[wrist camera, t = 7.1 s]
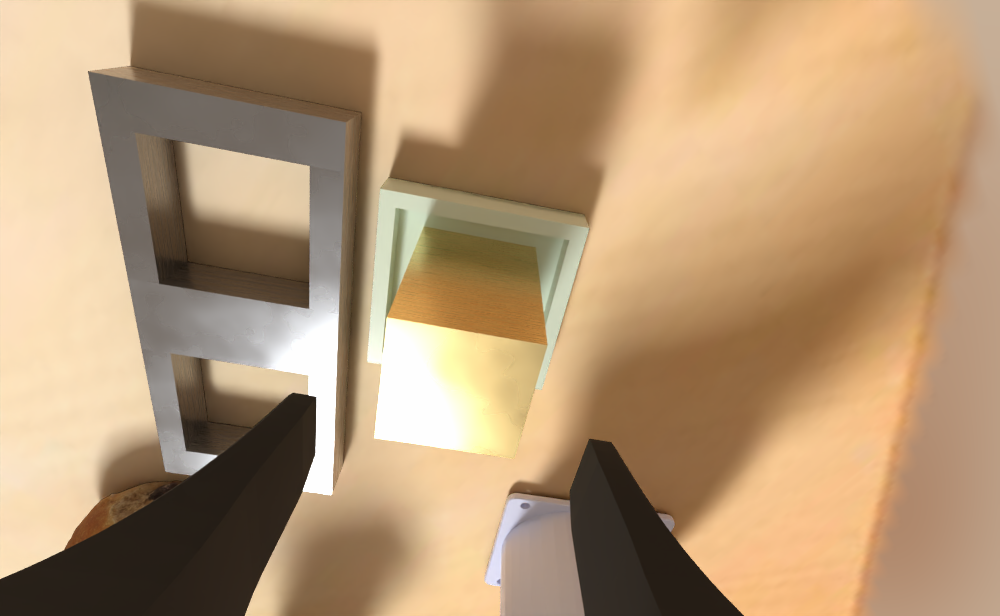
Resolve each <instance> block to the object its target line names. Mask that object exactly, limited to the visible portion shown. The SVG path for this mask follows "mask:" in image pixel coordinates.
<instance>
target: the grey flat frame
mask: <svg viewBox="0 0 1000 616" xmlns="http://www.w3.org/2000/svg"><path fill="white" fill-rule="evenodd" d="M88 74H89V79H90V84H91V90H92V95H93V100H94V105H95V110H96V116H97V121H98V126H99V131H100V136H101V141H102V147H103V152H104V157H105V162H106V167H107V172H108V178H109V183H110V188H111V193H112V198H113V203H114V209H115V214H116V219H117V224H118V229H119V234H120V240H121V245H122V250H123V255H124V260H125V266H126V271H127V276H128V281H129V286H130V291H131V297H132V302H133V307H134V312H135V317H136V322H137V328H138V333H139V338H140V343H141V348H142V353H143V359H144V364H145V369H146V374H147V379H148V384H149V390H150V395H151V400H152V405H153V410H154V416H155V421H156V426H157V431H158V436H159V441H160V447H161V452H162V457H163V462H164V467H165V472H170V473H177V474H184V475H193V474H194V473H196V472H197V471H198V470H200V469H201V468H202V467H204V466H205V465H206V464H208V463H209V462H210V461H212V460H213V459H214V458H216V457H217V456H218V455H220V454H221V453H222V452H224V451H225V450H226V449H227V448H229V447H230V446H231V445H232V444H234V443H235V442H236V441H237V440H238V439H240V438H241V437H242V436H243V435H244V434H246V433H247V432H248V431H249V430H251V429H252V428H247V427H240V426H233V425H226V424H219V423H213V422H208V419H207V412H206V404H205V396H204V388H203V380H202V372H201V364H200V358H204V359H210V360H216V361H223V362H229V363H235V364H242V365H248V366H255V367H261V368H267V369H274V370H280V371H286V372H293V373H299V374H305V375H309V395H310V396H317V425H316V455H315V458H314V461H313V464H312V467H311V470H310V473H309V476H308V478H307V481H306V484H305V486H304V489H303V491H307V492H314V493H321V494H329V495H332V493H333V490H334V487H335V485H336V482H337V479H338V477H339V474H340V471H341V469H342V466H343V456H344V437H345V418H346V399H347V380H348V361H349V342H350V323H351V304H352V285H353V265H354V246H355V227H356V208H357V189H358V170H359V151H360V132H361V112H356V111H351V110H346V109H341V108H336V107H331V106H326V105H321V104H316V103H311V102H306V101H301V100H296V99H291V98H286V97H281V96H276V95H271V94H266V93H261V92H256V91H251V90H246V89H241V88H236V87H231V86H226V85H221V84H216V83H211V82H206V81H201V80H196V79H191V78H186V77H181V76H176V75H171V74H166V73H161V72H156V71H151V70H146V69H141V68H136V67H131V66H126V67H118V68H110V69H102V70H94V71H88ZM172 140H177V141H182V142H187V143H192V144H198V145H203V146H208V147H213V148H219V149H224V150H229V151H234V152H240V153H245V154H250V155H255V156H261V157H266V158H271V159H276V160H282V161H287V162H292V163H297V164H303V165H308V166H310V260H309V283H306V282H300V281H294V280H288V279H282V278H277V277H271V276H265V275H259V274H253V273H248V272H242V271H236V270H230V269H224V268H218V267H213V266H207V265H201V264H195V263H189V262H188V261H187V253H186V245H185V237H184V229H183V221H182V213H181V205H180V197H179V189H178V181H177V173H176V165H175V157H174V149H173V141H172Z"/></svg>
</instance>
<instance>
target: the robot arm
mask: <svg viewBox="0 0 1000 616" xmlns="http://www.w3.org/2000/svg"><path fill="white" fill-rule="evenodd" d="M316 425H317V396H310V395H304V394H297V393H292V394H290V395H289V396H288V397H286V398H285V399H284V400H283V401H282V402H281V403H280V404H279V405H278V406H277V407H276V408H274V409H273V410H272V411H271V412H270V413H269V414H268V415H267V416H265V417H264V418H263V419H262V420H261V421H260V422H259V423H257V424H256V425H255V426H254V427H253V428H252V429H251V430H249V431H248V432H247V433H246V434H244V435H243V436H242V437H241V438H240V439H238V440H237V441H236V442H235V443H234V444H232V445H231V446H230V447H229V448H227V449H226V450H225V451H224V452H222V453H221V454H220V455H218V456H217V457H216V458H214V459H213V460H212V461H210V462H209V463H208V464H206V465H205V466H204V467H202V468H201V469H200V470H198V471H197V472H196V473H194V474H193V475H192V476H190V477H189V478H187V479H186V480H184V481H183V482H182V483H180V484H179V485H177V486H176V487H174V488H173V489H171V490H170V491H168V492H166V493H165V494H163V495H162V496H160V497H159V498H157V499H156V500H154V501H152V502H151V503H149V504H148V505H146V506H144V507H143V508H141V509H139V510H137V511H136V512H134V513H132V514H131V515H129V516H127V517H126V518H124V519H122V520H121V521H119V522H117V523H115V524H113V525H112V526H110V527H108V528H106V529H104V530H103V531H101V532H99V533H97V534H95V535H93V536H91V537H89V538H87V539H85V540H83V541H81V542H79V543H77V544H75V545H73V546H71V547H70V548H68V549H66V550H64V551H62V552H59V553H57V554H55V555H53V556H51V557H49V558H47V559H45V560H43V561H41V562H38V563H36V564H34V565H32V566H30V567H27V568H25V569H23V570H20V571H18V572H16V573H14V574H11V575H9V576H7V577H4V578H2V579H0V616H245V613H246V611H247V608H248V605H249V603H250V600H251V598H252V595H253V593H254V590H255V588H256V586H257V584H258V581H259V579H260V577H261V575H262V573H263V571H264V569H265V567H266V565H267V563H268V561H269V559H270V556H271V554H272V552H273V550H274V548H275V546H276V544H277V542H278V540H279V538H280V536H281V534H282V532H283V530H284V528H285V526H286V524H287V522H288V520H289V518H290V516H291V514H292V512H293V510H294V508H295V506H296V504H297V502H298V500H299V498H300V496H301V494H302V492H303V489H304V486H305V484H306V481H307V478H308V476H309V473H310V470H311V467H312V464H313V461H314V458H315V455H316ZM674 525H675V523H674V520H673V517H672V516H670V515H667V514H661V513H656V511H655V510H654V508H653V507H652V505H651V504H650V502H649V501H648V499H647V498H646V496H645V495H644V493H643V492H642V490H641V489H640V487H639V485H638V484H637V482H636V481H635V479H634V478H633V476H632V474H631V473H630V471H629V470H628V468H627V466H626V465H625V463H624V462H623V460H622V458H621V457H620V455H619V453H618V452H617V450H616V449H615V447H614V446H613V444H612V442H606V441H600V440H594V439H589V441H588V444H587V446H586V449H585V452H584V454H583V457H582V460H581V462H580V465H579V468H578V470H577V473H576V476H575V478H574V481H573V484H572V486H571V489H570V500H563V499H556V498H549V497H542V496H535V495H528V494H521V493H513V494H510V495H509V496H508V497H507V500H506V503H505V507H504V510H503V514H502V517H501V521H500V524H499V527H498V531H497V534H496V538H495V541H494V545H493V548H492V552H491V555H490V558H489V562H488V565H487V569H486V572H485V582H486V583H487V584H489V585H495V586H500V616H744V615H743V614H742V613H741V612H740V611H739V610H738V609H737V608H736V607H735V606H734V605H733V604H732V603H731V602H730V601H729V600H728V599H727V598H726V597H725V596H724V595H723V594H722V593H721V592H720V591H719V590H718V588H717V587H716V586H715V585H714V584H713V583H712V582H711V581H710V580H709V579H708V577H707V576H706V575H705V574H704V573H703V572H702V570H701V569H700V568H699V567H698V566H697V565H696V564H695V562H694V561H693V560H692V559H691V558H690V556H689V555H688V554H687V553H686V552H685V550H684V549H683V548H682V547H681V545H680V544H679V543H678V541H677V540H676V539H675V537H674V536H673V535H672V533H671V531H672V529H673V528H674Z"/></svg>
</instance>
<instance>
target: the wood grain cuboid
mask: <svg viewBox="0 0 1000 616" xmlns="http://www.w3.org/2000/svg"><path fill="white" fill-rule="evenodd" d="M547 346H548V344H547V336H546V327H545V319H544V311H543V303H542V295H541V286H540V278H539V270H538V262H537V253H536V247H531V246H525V245H520V244H515V243H510V242H504V241H499V240H494V239H489V238H483V237H478V236H473V235H467V234H462V233H457V232H452V231H446V230H441V229H436V228H430V227H425V226H424V227H423V230H422V232H421V235H420V237H419V240H418V242H417V244H416V247H415V249H414V252H413V254H412V257H411V259H410V262H409V264H408V267H407V269H406V272H405V274H404V276H403V279H402V281H401V284H400V286H399V289H398V291H397V294H396V296H395V299H394V301H393V304H392V306H391V308H390V311H389V313H388V316H387V321H386V331H385V341H384V351H383V361H382V371H381V381H380V391H379V401H378V411H377V421H376V431H375V438H381V439H388V440H394V441H401V442H407V443H414V444H420V445H427V446H433V447H440V448H446V449H453V450H460V451H466V452H473V453H479V454H486V455H492V456H499V457H505V458H512V459H514V458H515V455H516V452H517V448H518V445H519V441H520V438H521V435H522V431H523V428H524V424H525V421H526V418H527V414H528V411H529V407H530V404H531V400H532V397H533V394H534V390H535V387H536V383H537V380H538V377H539V373H540V370H541V366H542V363H543V360H544V356H545V353H546V349H547Z"/></svg>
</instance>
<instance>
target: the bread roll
mask: <svg viewBox="0 0 1000 616" xmlns="http://www.w3.org/2000/svg"><path fill="white" fill-rule="evenodd" d="M180 483H182V482H181V481H172V482H152V483H146V484H142V485H139V486H136V487H133V488H130V489H128V490H125V491H123V492H121V493H118V494H114V493H113V494H111V495H110V496H108V497H106V498H104V499H102V500H101V501H100V502H99V503H98V504H97V505H96V506H95V507H94V508H93V509H92V510H91V511H90V513H89V514H88V515H87V516H86V517H85V518H84V520H83V521H82V522H81V523H80V525H79V526H78V527H77V528H76V529H75V531H74V533H73V535H72V538H71V539H70V540H69V542H68V544H67V545H66V547H65V549H64V550H66V549H68V548H70V547H71V546H73V545H75V544H77V543H79V542H81V541H83V540H85V539H87V538H89V537H91V536H93V535H95V534H97V533H99V532H101V531H103V530H104V529H106V528H108V527H110V526H112V525H113V524H115V523H117V522H119V521H121V520H122V519H124V518H126V517H127V516H129V515H131V514H132V513H134V512H136V511H137V510H139V509H141V508H143V507H144V506H146V505H148V504H149V503H151V502H152V501H154V500H156V499H157V498H159V497H160V496H162V495H163V494H165V493H166V492H168V491H170V490H171V489H173V488H174V487H176V486H177V485H179V484H180Z"/></svg>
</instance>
